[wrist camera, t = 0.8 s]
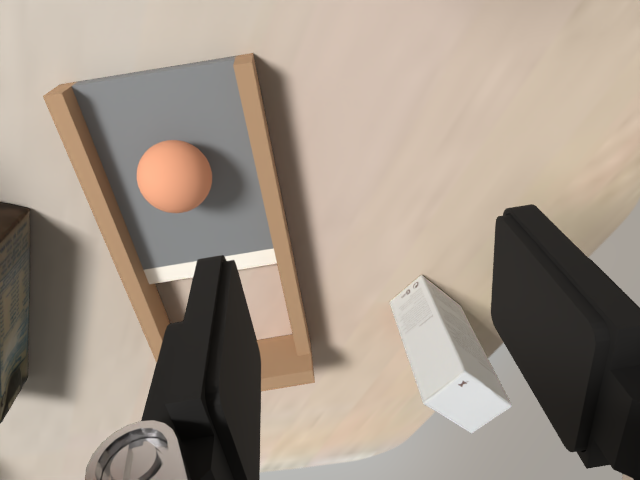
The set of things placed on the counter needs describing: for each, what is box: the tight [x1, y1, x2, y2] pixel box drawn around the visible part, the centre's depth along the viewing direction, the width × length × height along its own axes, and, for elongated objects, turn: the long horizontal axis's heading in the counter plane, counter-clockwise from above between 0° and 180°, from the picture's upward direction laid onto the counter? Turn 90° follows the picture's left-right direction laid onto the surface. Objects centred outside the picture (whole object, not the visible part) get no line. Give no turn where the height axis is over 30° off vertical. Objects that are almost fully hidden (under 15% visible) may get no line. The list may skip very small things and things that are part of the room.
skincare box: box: [390, 275, 512, 433], centre depth 42 cm, size 6×4×12 cm
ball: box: [137, 140, 212, 213], centre depth 34 cm, size 5×5×5 cm
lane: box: [43, 53, 315, 391], centre depth 39 cm, size 27×13×5 cm, turn 8°
